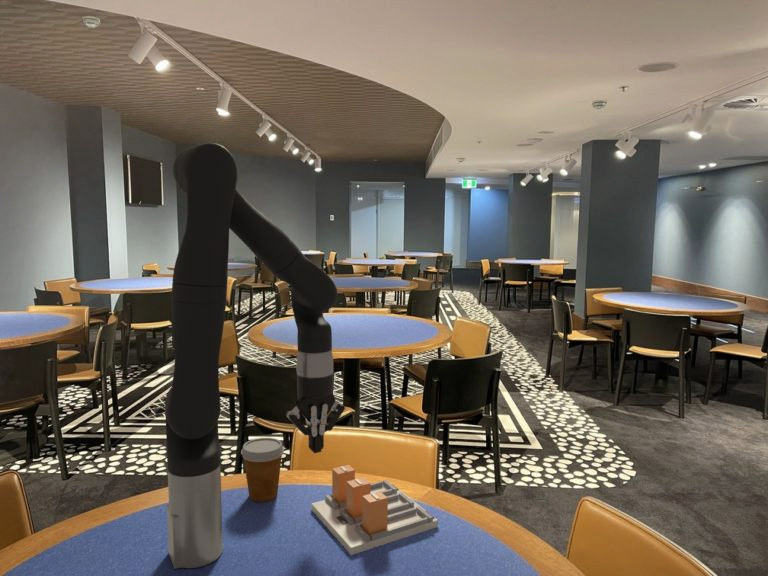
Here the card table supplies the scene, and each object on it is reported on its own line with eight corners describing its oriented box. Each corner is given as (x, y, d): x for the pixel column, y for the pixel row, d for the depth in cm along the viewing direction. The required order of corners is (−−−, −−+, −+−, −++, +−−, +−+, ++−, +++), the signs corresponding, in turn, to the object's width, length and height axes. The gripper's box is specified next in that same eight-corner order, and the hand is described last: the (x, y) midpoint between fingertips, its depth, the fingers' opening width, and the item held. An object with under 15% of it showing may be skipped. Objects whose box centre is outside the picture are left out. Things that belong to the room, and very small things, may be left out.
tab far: (338, 505, 119) (338, 473, 118) (332, 499, 121) (332, 467, 121) (354, 500, 121) (354, 469, 120) (348, 494, 123) (348, 463, 123)
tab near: (369, 537, 107) (369, 501, 106) (362, 529, 109) (362, 494, 109) (387, 531, 109) (387, 496, 108) (379, 524, 111) (380, 490, 111)
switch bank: (351, 555, 104) (351, 542, 104) (311, 510, 120) (311, 499, 120) (437, 526, 114) (438, 515, 114) (390, 488, 130) (390, 478, 130)
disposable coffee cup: (289, 486, 131) (288, 437, 129) (277, 507, 121) (277, 454, 120) (250, 484, 132) (249, 435, 130) (235, 504, 122) (234, 452, 121)
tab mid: (353, 520, 113) (353, 486, 112) (346, 513, 115) (346, 480, 115) (370, 515, 115) (370, 482, 114) (363, 508, 117) (363, 476, 117)
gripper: (291, 380, 108) (293, 465, 110) (351, 371, 115) (352, 451, 117) (278, 371, 114) (280, 451, 116) (336, 363, 121) (337, 439, 123)
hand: (316, 451), depth 116 cm, fingers closed
